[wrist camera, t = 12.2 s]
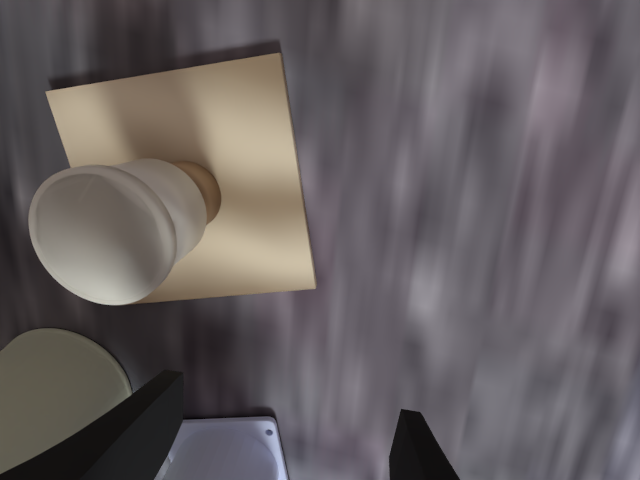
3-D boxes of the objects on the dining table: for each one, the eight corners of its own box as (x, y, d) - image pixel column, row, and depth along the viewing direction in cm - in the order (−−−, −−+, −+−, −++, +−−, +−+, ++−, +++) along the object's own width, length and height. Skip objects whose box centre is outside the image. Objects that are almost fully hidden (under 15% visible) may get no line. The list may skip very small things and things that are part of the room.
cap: (117, 133, 16) (43, 139, 12) (227, 185, 16) (188, 208, 12) (90, 234, 18) (17, 268, 14) (190, 280, 18) (145, 326, 14)
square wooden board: (316, 283, 22) (308, 320, 18) (123, 300, 23) (78, 337, 19) (282, 54, 18) (262, 39, 14) (54, 92, 20) (-19, 87, 16)
